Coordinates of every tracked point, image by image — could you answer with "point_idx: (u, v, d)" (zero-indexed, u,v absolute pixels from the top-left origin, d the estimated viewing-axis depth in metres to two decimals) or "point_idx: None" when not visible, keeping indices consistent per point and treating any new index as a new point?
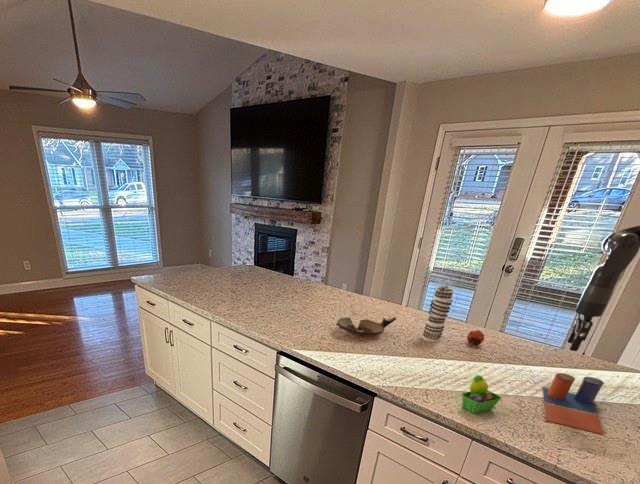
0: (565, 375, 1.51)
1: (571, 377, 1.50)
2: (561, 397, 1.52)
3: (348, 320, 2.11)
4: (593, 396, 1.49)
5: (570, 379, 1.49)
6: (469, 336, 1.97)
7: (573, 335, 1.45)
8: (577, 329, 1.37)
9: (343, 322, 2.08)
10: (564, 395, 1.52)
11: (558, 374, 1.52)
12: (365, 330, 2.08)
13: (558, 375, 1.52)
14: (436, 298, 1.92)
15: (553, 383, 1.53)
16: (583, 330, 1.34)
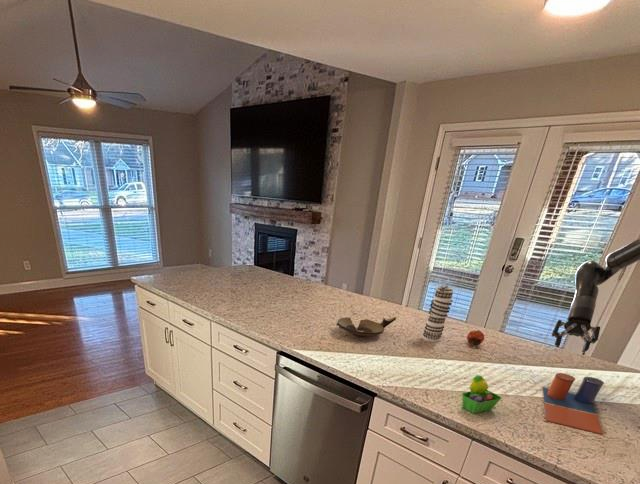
0: (565, 375, 1.51)
1: (571, 377, 1.50)
2: (561, 397, 1.52)
3: (348, 320, 2.11)
4: (593, 396, 1.49)
5: (570, 379, 1.49)
6: (469, 336, 1.97)
7: (584, 345, 1.55)
8: None
9: (343, 322, 2.08)
10: (564, 395, 1.52)
11: (558, 374, 1.52)
12: (365, 330, 2.08)
13: (558, 375, 1.52)
14: (436, 298, 1.92)
15: (553, 383, 1.53)
16: (554, 327, 1.59)
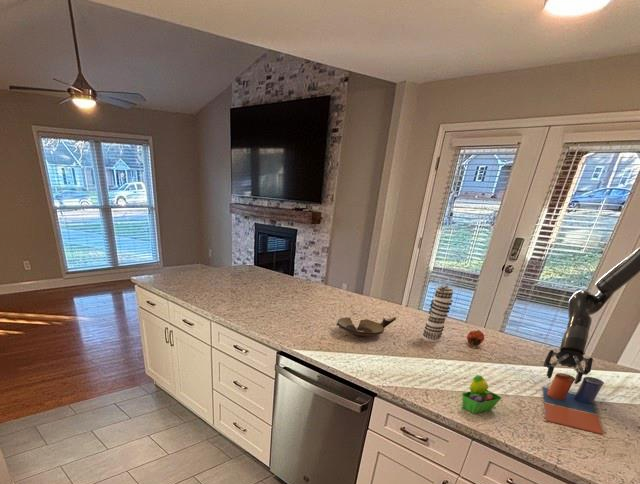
0: (565, 375, 1.51)
1: (571, 377, 1.50)
2: (561, 397, 1.52)
3: (348, 320, 2.11)
4: (593, 396, 1.49)
5: (570, 379, 1.49)
6: (469, 336, 1.97)
7: (576, 376, 1.52)
8: None
9: (343, 322, 2.08)
10: (564, 395, 1.52)
11: (558, 374, 1.52)
12: (365, 330, 2.08)
13: (558, 375, 1.52)
14: (436, 298, 1.92)
15: (553, 383, 1.53)
16: (546, 357, 1.56)
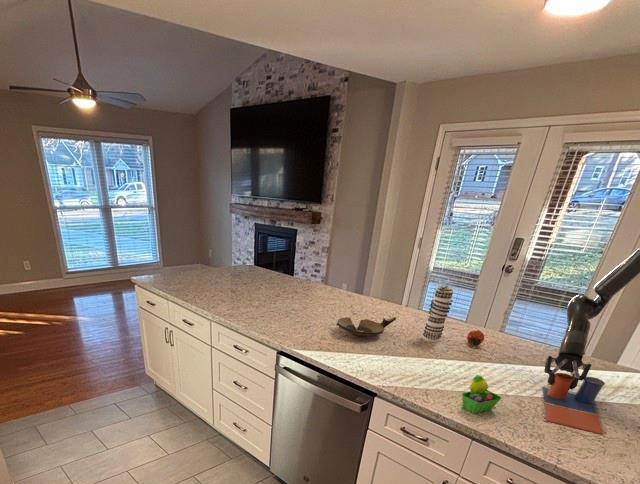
0: (565, 375, 1.51)
1: (571, 377, 1.50)
2: (561, 397, 1.52)
3: (348, 320, 2.11)
4: (593, 396, 1.49)
5: (570, 379, 1.49)
6: (469, 336, 1.97)
7: None
8: None
9: (343, 322, 2.08)
10: (564, 395, 1.52)
11: (557, 374, 1.52)
12: (365, 330, 2.08)
13: (557, 375, 1.52)
14: (436, 298, 1.92)
15: (553, 383, 1.53)
16: (545, 364, 1.55)
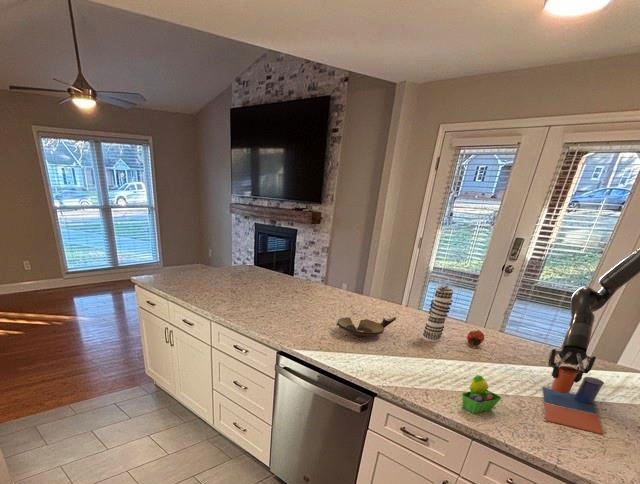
0: (569, 368, 1.50)
1: (575, 370, 1.49)
2: (566, 390, 1.51)
3: (348, 320, 2.11)
4: (593, 396, 1.49)
5: (574, 372, 1.47)
6: (469, 336, 1.97)
7: (577, 375, 1.49)
8: None
9: (343, 322, 2.08)
10: (569, 388, 1.50)
11: (562, 367, 1.51)
12: (365, 330, 2.08)
13: (562, 368, 1.50)
14: (436, 298, 1.92)
15: (557, 376, 1.51)
16: (549, 357, 1.54)
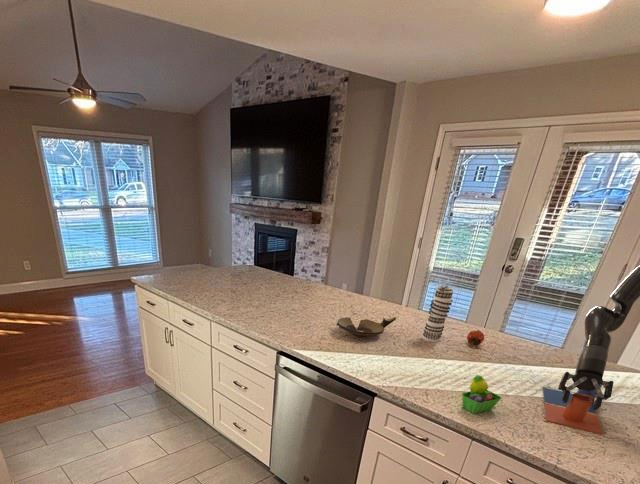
0: (583, 396, 1.38)
1: (590, 398, 1.37)
2: (579, 419, 1.39)
3: (348, 320, 2.11)
4: (593, 396, 1.49)
5: (589, 400, 1.36)
6: (469, 336, 1.97)
7: (595, 401, 1.37)
8: None
9: (343, 322, 2.08)
10: (582, 417, 1.39)
11: (575, 394, 1.39)
12: (365, 330, 2.08)
13: (575, 395, 1.38)
14: (436, 298, 1.92)
15: (570, 404, 1.39)
16: (561, 380, 1.42)
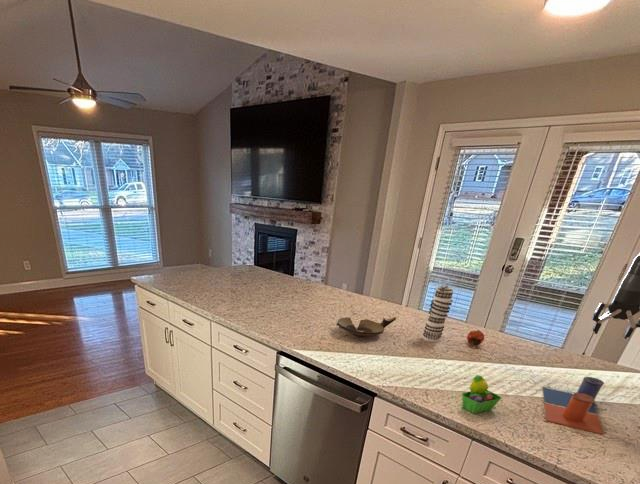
0: (583, 396, 1.38)
1: (590, 398, 1.37)
2: (579, 419, 1.39)
3: (348, 320, 2.11)
4: (593, 396, 1.49)
5: (589, 400, 1.36)
6: (469, 336, 1.97)
7: (627, 329, 1.42)
8: (606, 313, 1.43)
9: (343, 322, 2.08)
10: (582, 417, 1.39)
11: (575, 394, 1.39)
12: (365, 330, 2.08)
13: (575, 395, 1.38)
14: (436, 298, 1.92)
15: (570, 404, 1.39)
16: (596, 310, 1.44)
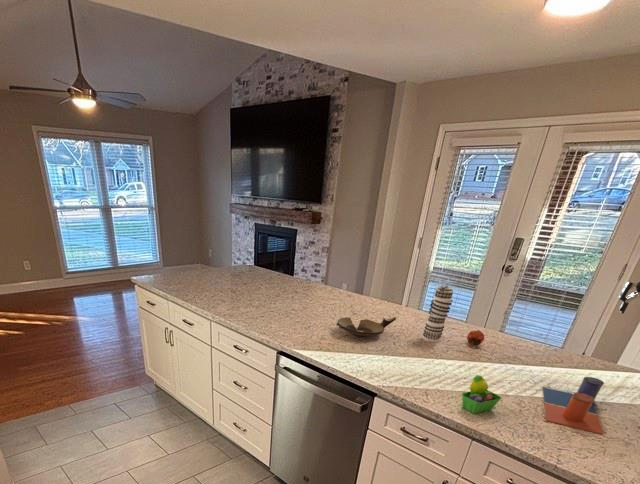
0: (583, 396, 1.38)
1: (590, 398, 1.37)
2: (579, 419, 1.39)
3: (348, 320, 2.11)
4: (593, 396, 1.49)
5: (589, 400, 1.36)
6: (469, 336, 1.97)
7: None
8: (633, 292, 1.43)
9: (343, 322, 2.08)
10: (582, 417, 1.39)
11: (575, 394, 1.39)
12: (365, 330, 2.08)
13: (575, 395, 1.38)
14: (436, 298, 1.92)
15: (570, 404, 1.39)
16: (623, 289, 1.43)
